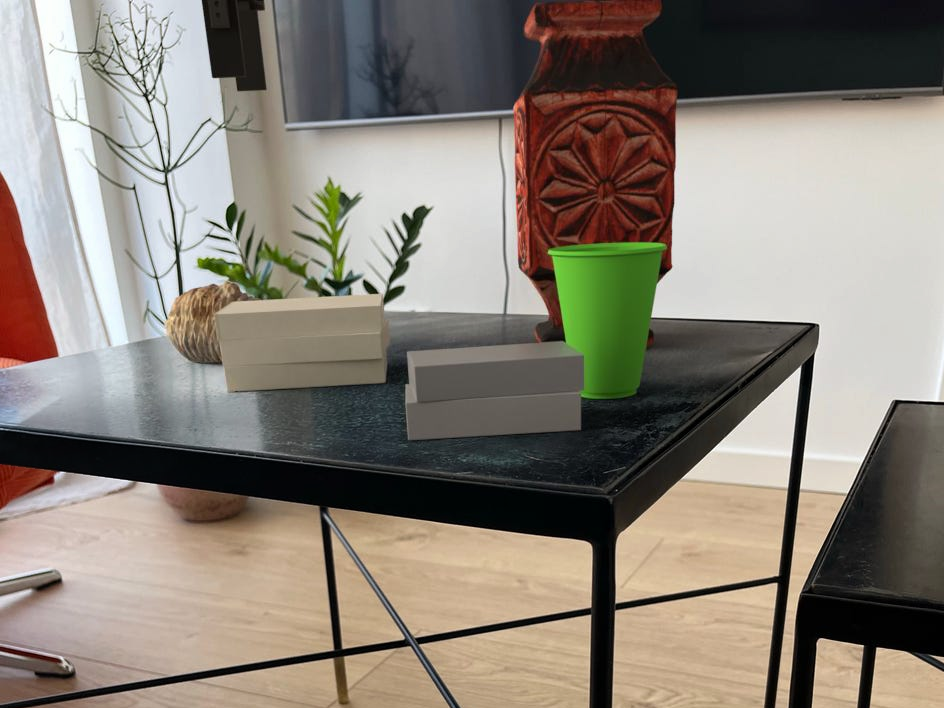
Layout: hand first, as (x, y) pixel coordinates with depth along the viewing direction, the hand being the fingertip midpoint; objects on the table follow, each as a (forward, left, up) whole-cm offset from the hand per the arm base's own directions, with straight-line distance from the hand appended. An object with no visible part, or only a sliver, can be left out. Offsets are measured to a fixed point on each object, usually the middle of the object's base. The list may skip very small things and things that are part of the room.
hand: (241, 85), depth 90 cm
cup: (+29, -22, -25) cm, 44 cm away
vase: (+32, +4, -25) cm, 41 cm away
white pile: (+4, -7, -25) cm, 26 cm away
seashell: (-6, +8, -25) cm, 27 cm away
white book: (+4, -7, -20) cm, 22 cm away
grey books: (+19, -31, -25) cm, 44 cm away
